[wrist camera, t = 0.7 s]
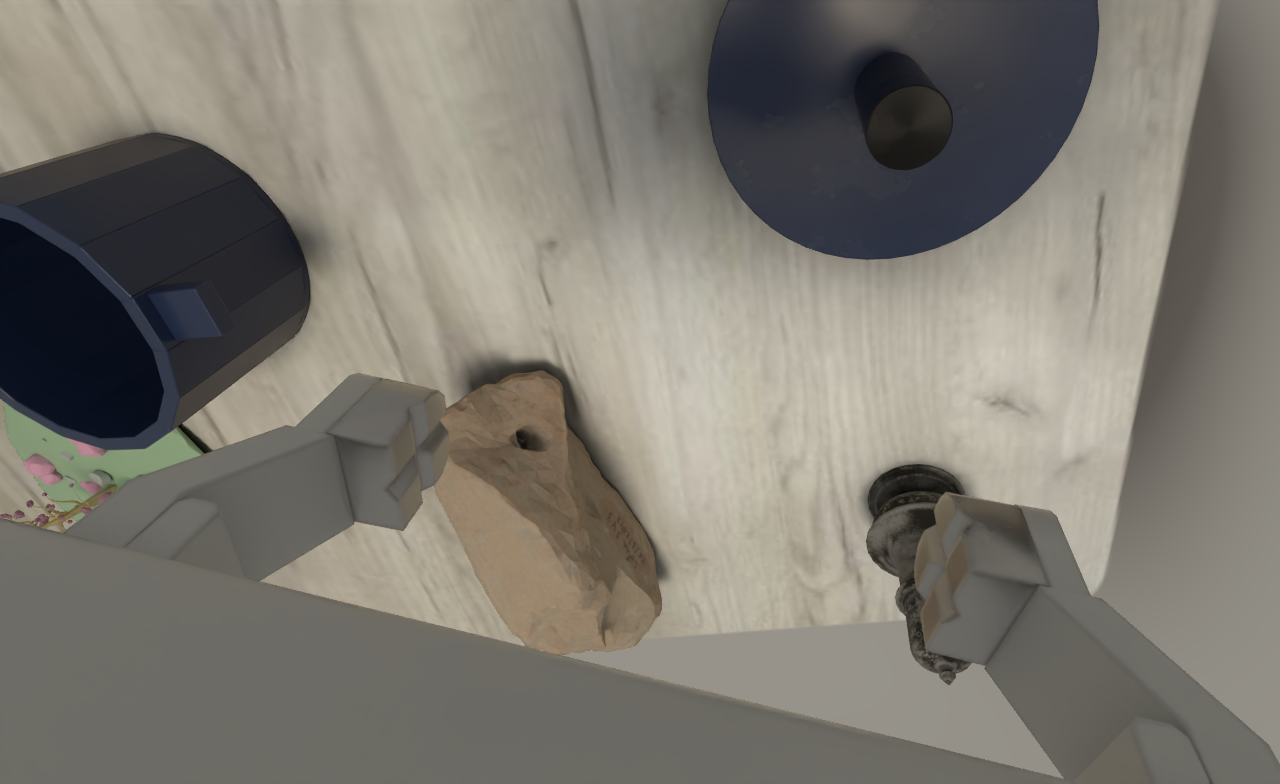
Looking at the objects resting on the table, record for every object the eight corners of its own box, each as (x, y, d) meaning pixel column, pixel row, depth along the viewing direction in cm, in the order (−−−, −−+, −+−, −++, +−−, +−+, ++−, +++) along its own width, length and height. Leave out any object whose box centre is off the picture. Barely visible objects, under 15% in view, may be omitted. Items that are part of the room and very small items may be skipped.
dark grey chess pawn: (893, 548, 42) (917, 733, 32) (843, 484, 40) (853, 661, 30) (988, 515, 39) (1047, 708, 29) (940, 445, 37) (985, 626, 27)
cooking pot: (17, 160, 39) (-202, 221, 31) (278, 105, 34) (101, 161, 26) (149, 359, 46) (0, 454, 38) (383, 340, 41) (271, 444, 33)
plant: (328, 600, 58) (258, 695, 51) (163, 608, 65) (81, 693, 58) (140, 356, 46) (14, 434, 39) (-38, 397, 53) (-174, 470, 46)
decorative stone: (443, 370, 41) (354, 475, 33) (543, 333, 38) (471, 439, 30) (595, 589, 50) (553, 715, 42) (687, 574, 47) (660, 706, 39)
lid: (686, -84, 26) (643, -91, 20) (1119, -194, 22) (1251, -250, 15) (732, 265, 34) (712, 345, 27) (1062, 231, 30) (1134, 316, 23)
